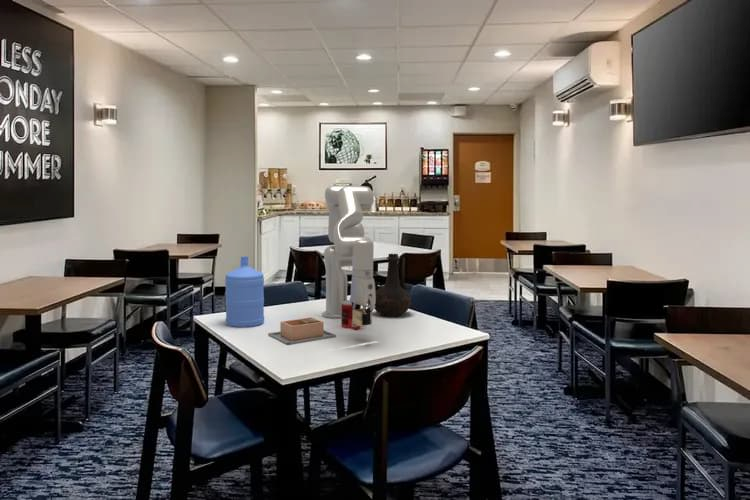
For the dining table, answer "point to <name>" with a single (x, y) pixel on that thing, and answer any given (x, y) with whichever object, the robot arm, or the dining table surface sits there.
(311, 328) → the pot
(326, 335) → the tray
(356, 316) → the oak block
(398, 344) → the dining table surface
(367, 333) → the dining table surface
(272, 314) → the dining table surface
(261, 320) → the water jug
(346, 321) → the canned food
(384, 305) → the brown vase
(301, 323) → the walnut block
